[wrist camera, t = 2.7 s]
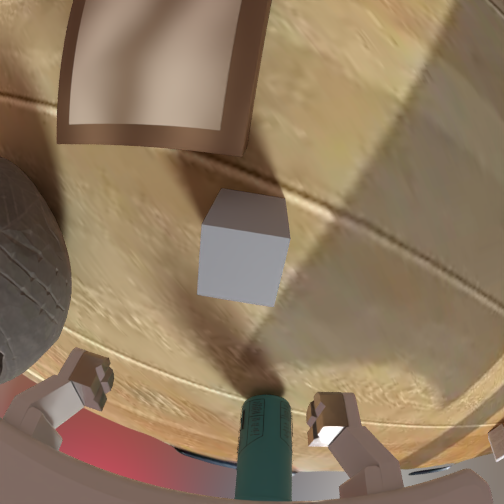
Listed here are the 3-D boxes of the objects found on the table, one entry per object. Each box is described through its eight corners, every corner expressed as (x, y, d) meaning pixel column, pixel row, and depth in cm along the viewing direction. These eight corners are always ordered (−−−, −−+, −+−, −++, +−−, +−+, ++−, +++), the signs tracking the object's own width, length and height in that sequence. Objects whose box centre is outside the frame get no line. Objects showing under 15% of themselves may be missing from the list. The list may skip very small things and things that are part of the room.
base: (275, -21, 14) (276, -45, 10) (246, 147, 21) (241, 157, 17) (105, -14, 14) (78, -27, 10) (84, 135, 20) (54, 144, 17)
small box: (502, 428, 50) (511, 453, 41) (487, 437, 52) (495, 462, 43) (502, 422, 47) (512, 449, 38) (487, 432, 49) (496, 460, 40)
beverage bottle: (239, 383, 34) (221, 535, 17) (293, 383, 34) (294, 537, 16) (245, 408, 37) (232, 538, 20) (292, 408, 37) (291, 540, 19)
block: (285, 198, 22) (290, 238, 16) (273, 253, 25) (273, 307, 19) (221, 188, 22) (201, 224, 16) (215, 244, 25) (197, 294, 19)
